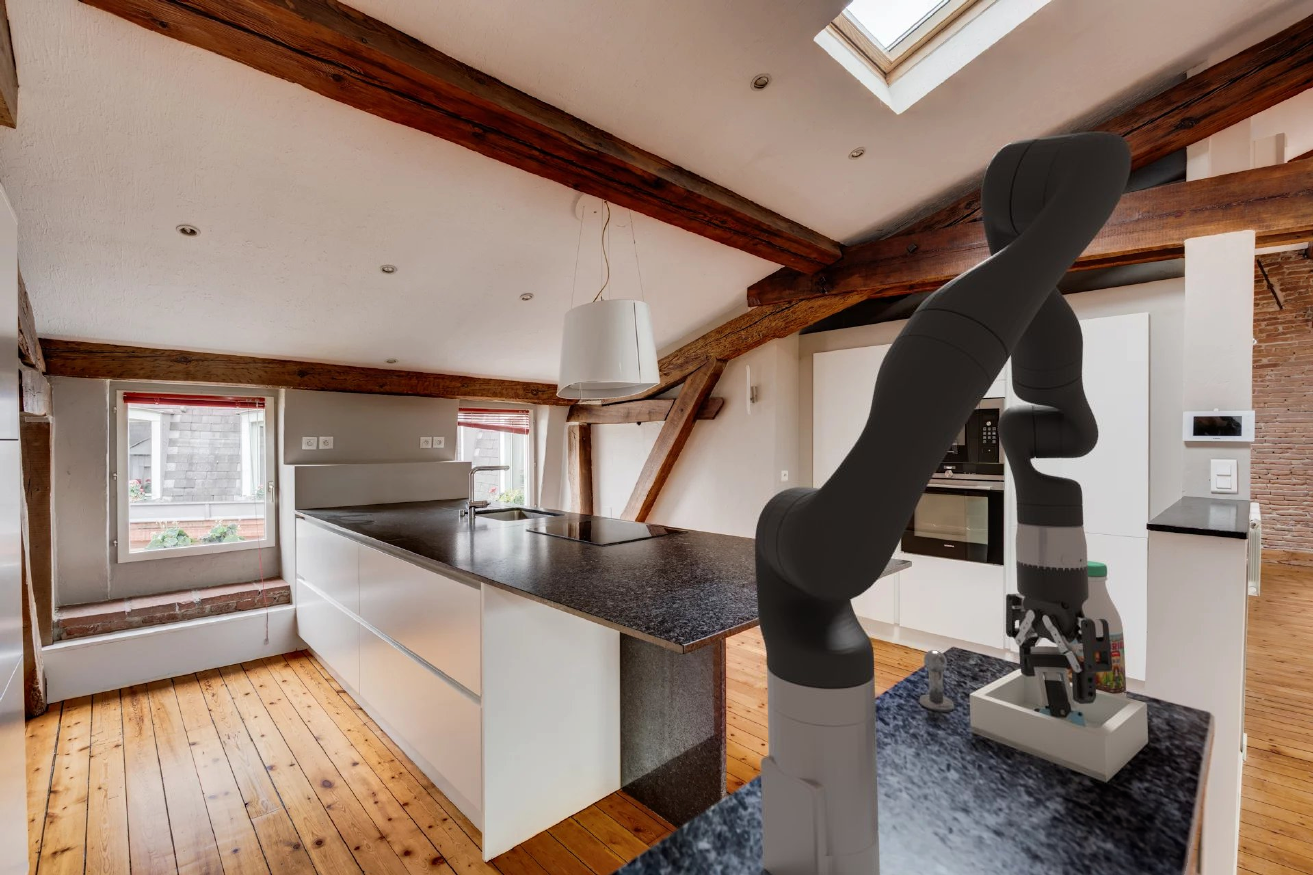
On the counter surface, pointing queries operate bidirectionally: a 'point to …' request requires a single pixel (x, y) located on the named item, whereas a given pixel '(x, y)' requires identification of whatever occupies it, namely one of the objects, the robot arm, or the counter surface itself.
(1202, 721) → the counter surface
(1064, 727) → the bin
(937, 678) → the ball stud post
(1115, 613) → the milk bottle
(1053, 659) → the push button
